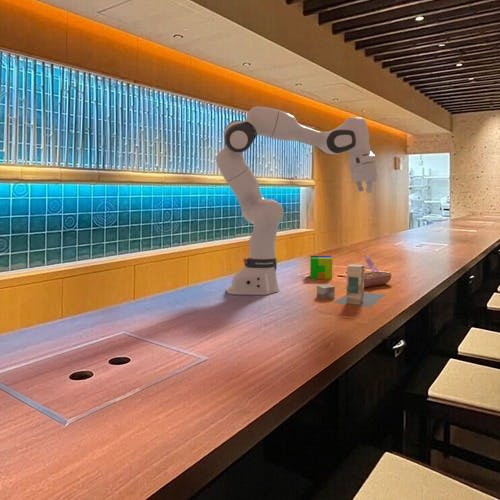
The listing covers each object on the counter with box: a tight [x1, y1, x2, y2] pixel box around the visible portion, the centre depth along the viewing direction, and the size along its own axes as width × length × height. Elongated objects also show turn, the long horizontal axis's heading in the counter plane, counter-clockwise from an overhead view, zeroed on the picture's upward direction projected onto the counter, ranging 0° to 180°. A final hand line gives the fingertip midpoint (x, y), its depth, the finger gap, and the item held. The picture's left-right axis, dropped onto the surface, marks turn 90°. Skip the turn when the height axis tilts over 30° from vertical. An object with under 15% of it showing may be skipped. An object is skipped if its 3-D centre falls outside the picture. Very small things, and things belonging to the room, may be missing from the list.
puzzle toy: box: [309, 255, 333, 280], centre depth 229 cm, size 10×10×10 cm
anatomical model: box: [364, 271, 393, 289], centre depth 207 cm, size 23×10×5 cm, turn 125°
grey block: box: [316, 284, 336, 300], centre depth 184 cm, size 5×5×5 cm
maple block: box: [346, 263, 365, 304], centre depth 175 cm, size 5×5×14 cm
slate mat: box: [333, 292, 386, 308], centre depth 182 cm, size 22×14×1 cm, turn 150°
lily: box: [362, 253, 380, 272], centre depth 236 cm, size 12×12×10 cm
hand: (365, 191), depth 192 cm, fingers open, 8 cm apart
